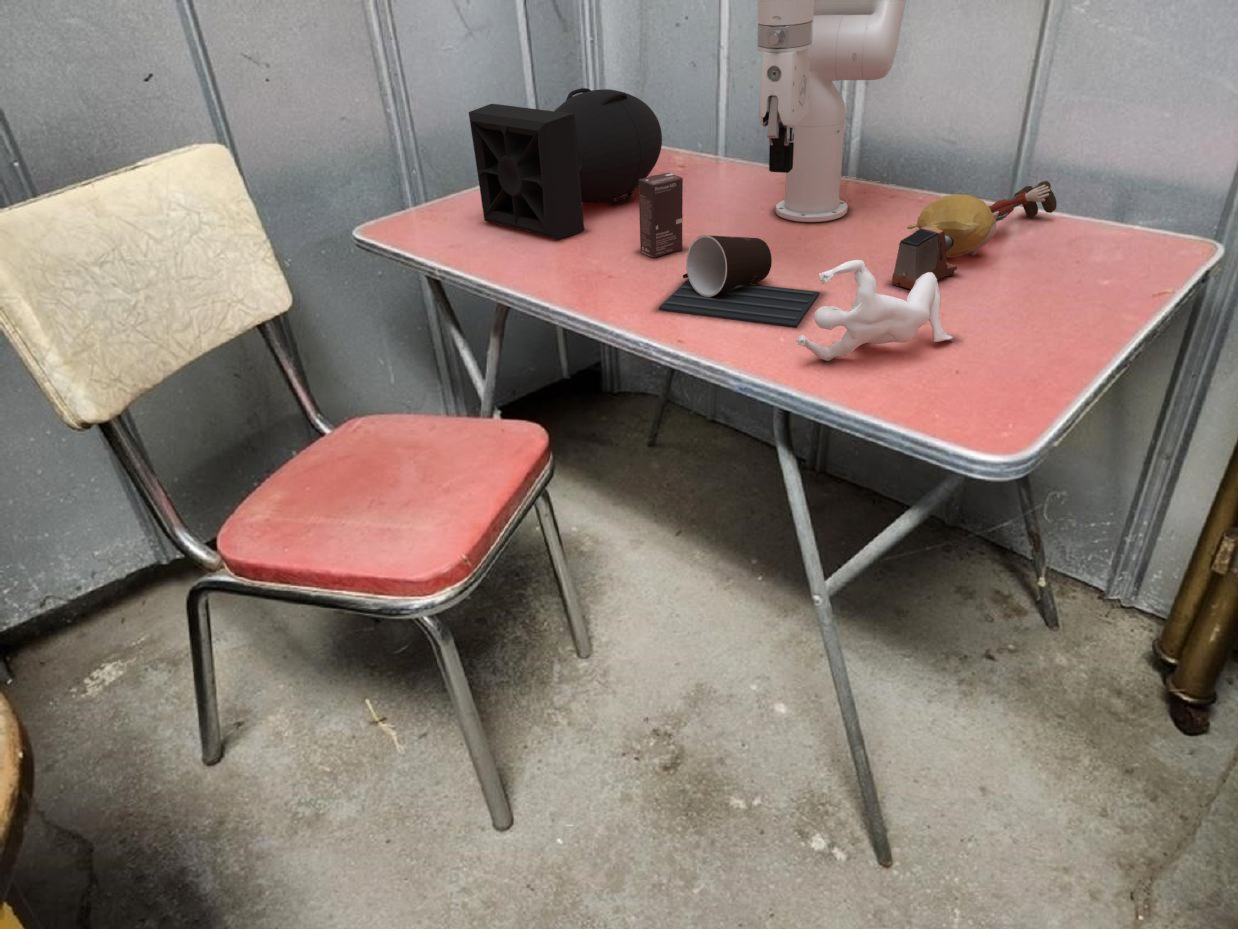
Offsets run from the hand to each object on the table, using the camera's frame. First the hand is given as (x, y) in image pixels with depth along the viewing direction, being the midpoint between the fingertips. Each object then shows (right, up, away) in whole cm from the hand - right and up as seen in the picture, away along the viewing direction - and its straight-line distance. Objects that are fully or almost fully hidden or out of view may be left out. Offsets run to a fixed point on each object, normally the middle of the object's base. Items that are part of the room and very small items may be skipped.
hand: (780, 170), depth 131 cm
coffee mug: (-5, -13, 0) cm, 14 cm away
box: (-17, -9, +14) cm, 24 cm away
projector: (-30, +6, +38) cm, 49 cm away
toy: (+34, -8, +9) cm, 37 cm away
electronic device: (+20, -17, -3) cm, 27 cm away
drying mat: (-7, -21, -6) cm, 23 cm away
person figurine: (+8, -30, -22) cm, 38 cm away
